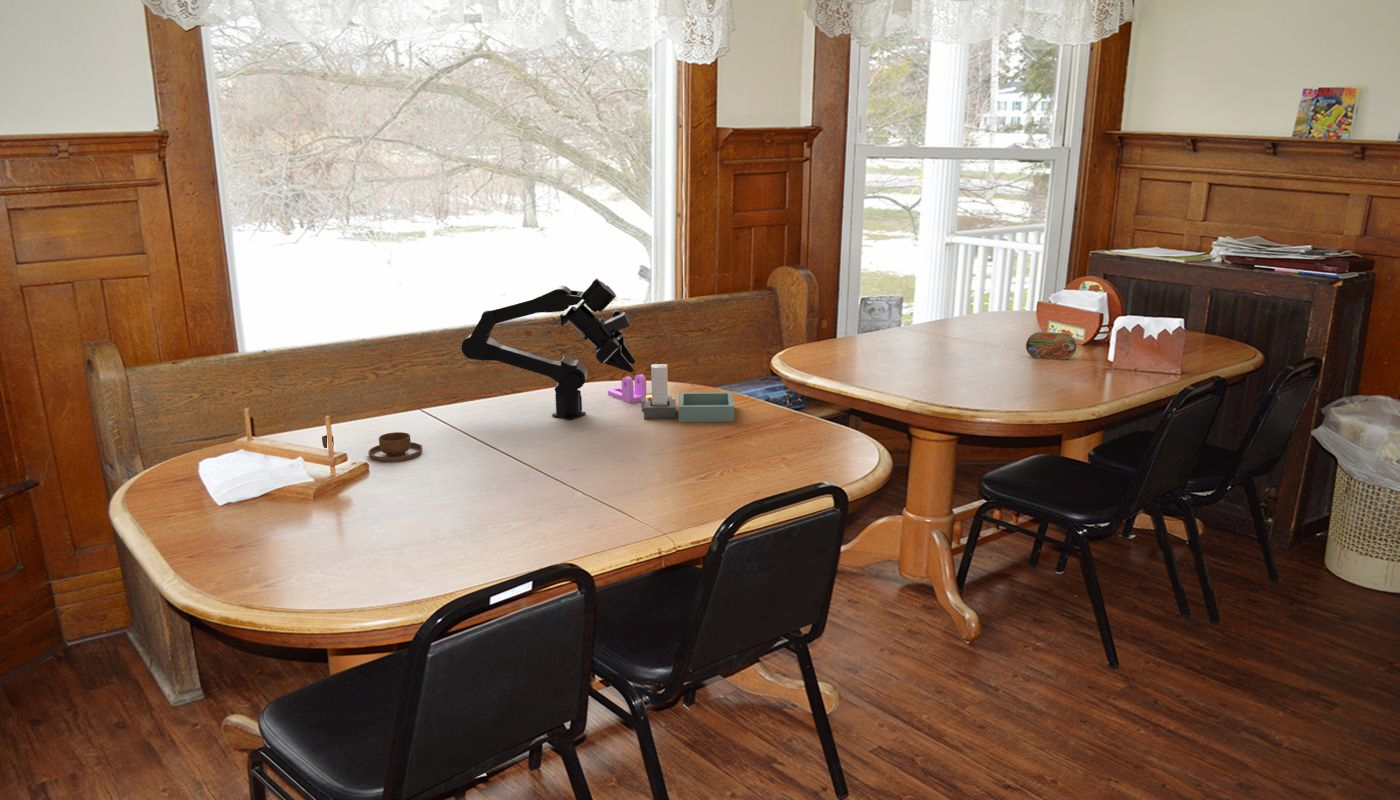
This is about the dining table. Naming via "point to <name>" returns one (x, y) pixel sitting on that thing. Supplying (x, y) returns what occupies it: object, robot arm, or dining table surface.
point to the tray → (706, 407)
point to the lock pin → (659, 385)
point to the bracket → (630, 389)
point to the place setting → (390, 447)
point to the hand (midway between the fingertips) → (633, 366)
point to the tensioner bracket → (658, 408)
